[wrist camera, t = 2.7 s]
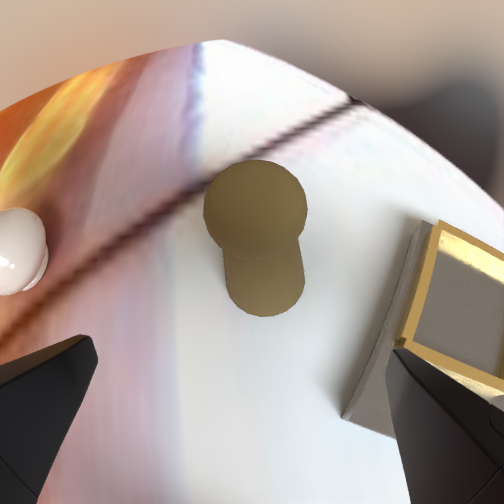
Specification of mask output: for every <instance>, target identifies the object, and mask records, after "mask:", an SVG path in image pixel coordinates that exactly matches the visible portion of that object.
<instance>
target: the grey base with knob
mask: <svg viewBox="0 0 504 504" xmlns="http://www.w3.org/2000/svg"><path fill="white" fill-rule="evenodd" d="M394 348H407V349H408V350H410V351H411V352H413V353H414V354H416V355H417V356H419V357H421V358H422V359H424V360H425V361H427V362H428V363H430V364H431V365H433V366H434V367H436V368H437V369H439V370H441V371H442V372H444V373H445V374H447V375H448V376H450V377H451V378H453V379H454V380H456V381H458V382H459V383H461V384H462V385H464V386H465V387H467V388H468V389H470V390H471V391H473V392H474V393H476V394H478V395H479V396H481V397H482V398H484V399H485V400H487V401H488V402H489V404H490V403H491V404H493V405H495V406H496V407H498V408H499V409H501V410H502V411H504V254H503V253H502V252H500V251H498V250H496V249H495V248H493V247H491V246H489V245H488V244H486V243H484V242H482V241H480V240H478V239H476V238H475V237H473V236H471V235H469V234H467V233H465V232H463V231H461V230H459V229H457V228H455V227H453V226H451V225H449V224H447V223H445V222H443V221H441V220H438V221H437V223H436V224H435V226H434V225H432V224H430V223H427V222H425V221H423V220H422V221H421V223H420V224H419V226H418V227H417V229H416V230H415V232H414V234H413V235H412V238H411V242H410V245H409V249H408V252H407V256H406V259H405V262H404V266H403V269H402V272H401V275H400V278H399V282H398V285H397V288H396V291H395V294H394V296H393V299H392V302H391V305H390V308H389V311H388V313H387V316H386V319H385V321H384V324H383V327H382V329H381V332H380V334H379V337H378V339H377V342H376V344H375V347H374V349H373V352H372V354H371V356H370V359H369V361H368V363H367V366H366V368H365V370H364V372H363V374H362V377H361V379H360V381H359V383H358V385H357V387H356V390H355V392H354V394H353V396H352V398H351V400H350V402H349V404H348V406H347V408H346V410H345V412H344V414H343V416H342V418H341V419H343V420H346V421H348V422H351V423H353V424H356V425H358V426H361V427H363V428H366V429H369V430H371V431H374V432H377V433H379V434H382V435H385V436H388V437H390V438H393V439H396V436H395V433H394V429H393V424H392V420H391V413H390V406H389V400H388V394H387V388H386V382H385V371H386V367H387V363H388V359H389V355H390V352H391V350H392V349H394Z"/></svg>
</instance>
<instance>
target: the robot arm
mask: <svg viewBox="0 0 504 504" xmlns="http://www.w3.org/2000/svg"><path fill="white" fill-rule="evenodd" d="M97 364H98V356H97V353H96V350H95V347H94V344H93V341H92V339H91V337H90V336H87V335H81V334H80V335H76V336H74V337H71V338H69V339H66V340H64V341H61V342H59V343H56V344H54V345H51V346H49V347H46V348H43V349H41V350H38V351H36V352H33V353H31V354H28V355H26V356H23V357H21V358H18V359H15V360H13V361H10V362H8V363H5V364H3V365H0V504H36V503H37V501H38V497H39V495H40V493H41V490H42V488H43V485H44V483H45V481H46V478H47V476H48V474H49V471H50V469H51V467H52V465H53V462H54V460H55V458H56V456H57V453H58V451H59V449H60V447H61V445H62V443H63V440H64V438H65V436H66V434H67V432H68V430H69V428H70V426H71V424H72V422H73V420H74V418H75V416H76V414H77V412H78V410H79V408H80V406H81V403H82V401H83V399H84V397H85V394H86V392H87V389H88V386H89V384H90V381H91V379H92V376H93V374H94V371H95V369H96V366H97ZM385 382H386V388H387V394H388V400H389V406H390V413H391V420H392V424H393V429H394V433H395V436H396V440H397V444H398V448H399V452H400V456H401V460H402V464H403V469H404V473H405V478H406V482H407V487H408V491H409V496H410V501H411V504H504V411H502V410H501V409H499V408H498V407H496V406H495V405H493V404H491V403H490V404H489V402H488V401H487V400H485V399H484V398H482V397H481V396H479V395H478V394H476V393H474V392H473V391H471V390H470V389H468V388H467V387H465V386H464V385H462V384H461V383H459V382H458V381H456V380H454V379H453V378H451V377H450V376H448V375H447V374H445V373H444V372H442V371H441V370H439V369H437V368H436V367H434V366H433V365H431V364H430V363H428V362H427V361H425V360H424V359H422V358H421V357H419V356H417V355H416V354H414V353H413V352H411V351H410V350H408V349H407V348H394V349H392V350H391V352H390V355H389V359H388V363H387V367H386V371H385Z"/></svg>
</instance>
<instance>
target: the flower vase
mask: <svg viewBox="0 0 504 504" xmlns="http://www.w3.org/2000/svg"><path fill="white" fill-rule="evenodd" d="M48 258H49V253H48V248H47V244H46V233H45V229H44V225H43V222H42V220H41V219H40V218H39V216H38V215H37V214H36V213H34V212H33V211H30V210H28V209H26V208H23V207H12V208H7V209H3V210H0V296H7V295H13V294H15V293H17V292H19V291H26V290H29V289H31V288H32V287H34V286H35V285H36V284H37V283H38V282H39V280H40V279H41V278H42V276H43V274H44V272H45V270H46V267H47V264H48Z"/></svg>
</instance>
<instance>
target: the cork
mask: <svg viewBox="0 0 504 504" xmlns="http://www.w3.org/2000/svg"><path fill="white" fill-rule="evenodd" d="M307 210H308V208H307V201H306V195H305V192H304V190H303V188H302V186H301V184H300V183H299V181H298V179H297V178H296V177H295V176H293V175H292V174H291V173H290V172H289V171H288V170H286V169H285V168H284V167H282V166H280V165H278V164H276V163H273V162H270V161H264V160H249V161H243V162H240V163H237V164H234V165H232V166H230V167H228V168H227V169H225V170H223V171H222V172H221V173H220V174H219V175H218V176H217V177H216V178H215V179H214V180H213V182H212V183H211V185H210V187H209V189H208V191H207V193H206V195H205V198H204V214H203V217H204V220H205V223H206V226H207V229H208V232H209V234H210V236H211V237H212V238H213V239H214V241H215V242H216V243H217V244H218V246H219V247H221V248H222V249H223V257H224V267H225V276H226V285H227V289H228V292H229V295H230V298H231V299H232V300H233V301H234V303H235V304H236V305H237V307H239V308H240V309H242V310H243V311H245V312H246V313H248V314H252V315H256V316H259V317H266V316H275V315H278V314H280V313H283V312H286V311H287V310H288V309H289V308H291V307H292V306H293V305H294V304H296V302H297V301H298V299H299V298H300V296H301V294H302V292H303V288H304V284H305V277H304V268H303V263H302V257H301V252H300V247H299V241H298V237H299V235H300V234H301V232H302V231H303V229H304V225H305V221H306V217H307Z"/></svg>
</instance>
